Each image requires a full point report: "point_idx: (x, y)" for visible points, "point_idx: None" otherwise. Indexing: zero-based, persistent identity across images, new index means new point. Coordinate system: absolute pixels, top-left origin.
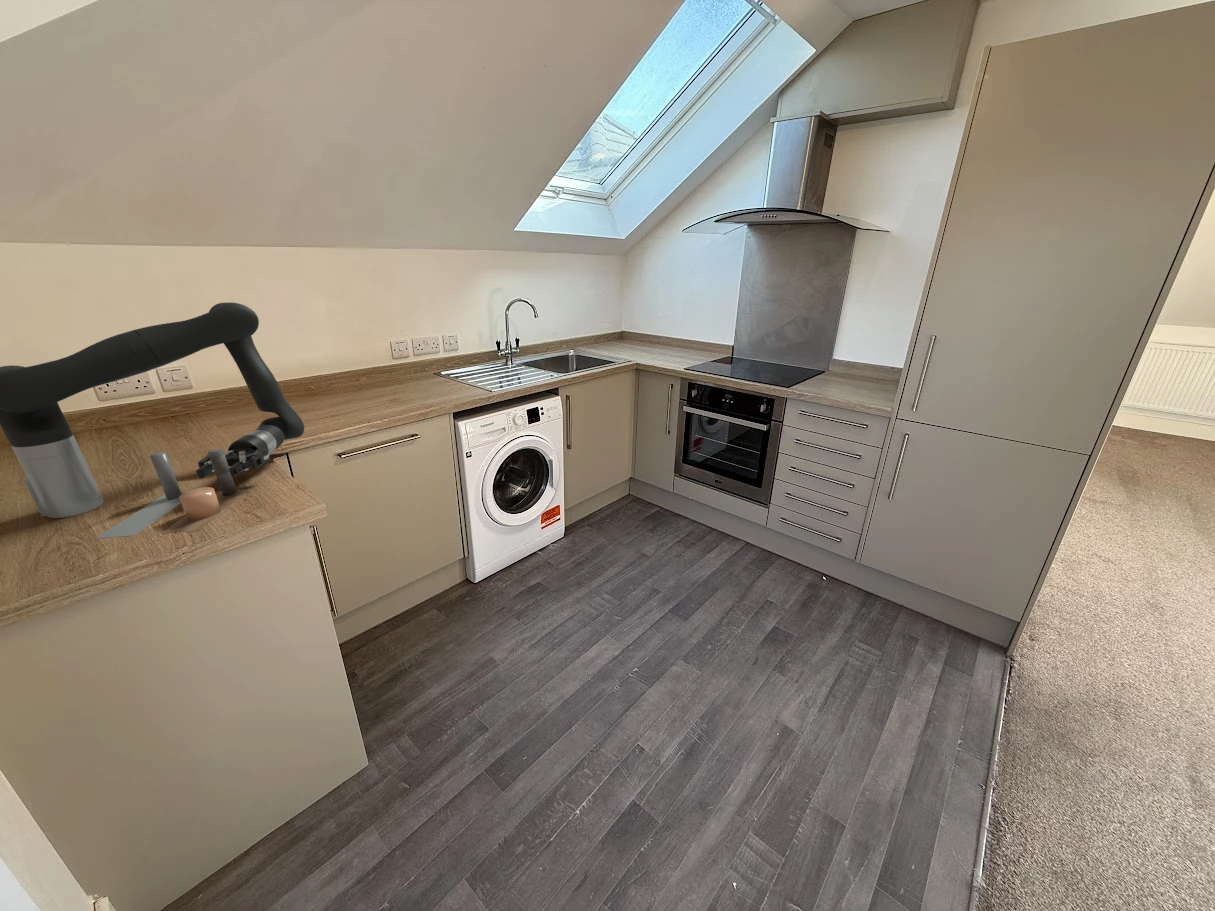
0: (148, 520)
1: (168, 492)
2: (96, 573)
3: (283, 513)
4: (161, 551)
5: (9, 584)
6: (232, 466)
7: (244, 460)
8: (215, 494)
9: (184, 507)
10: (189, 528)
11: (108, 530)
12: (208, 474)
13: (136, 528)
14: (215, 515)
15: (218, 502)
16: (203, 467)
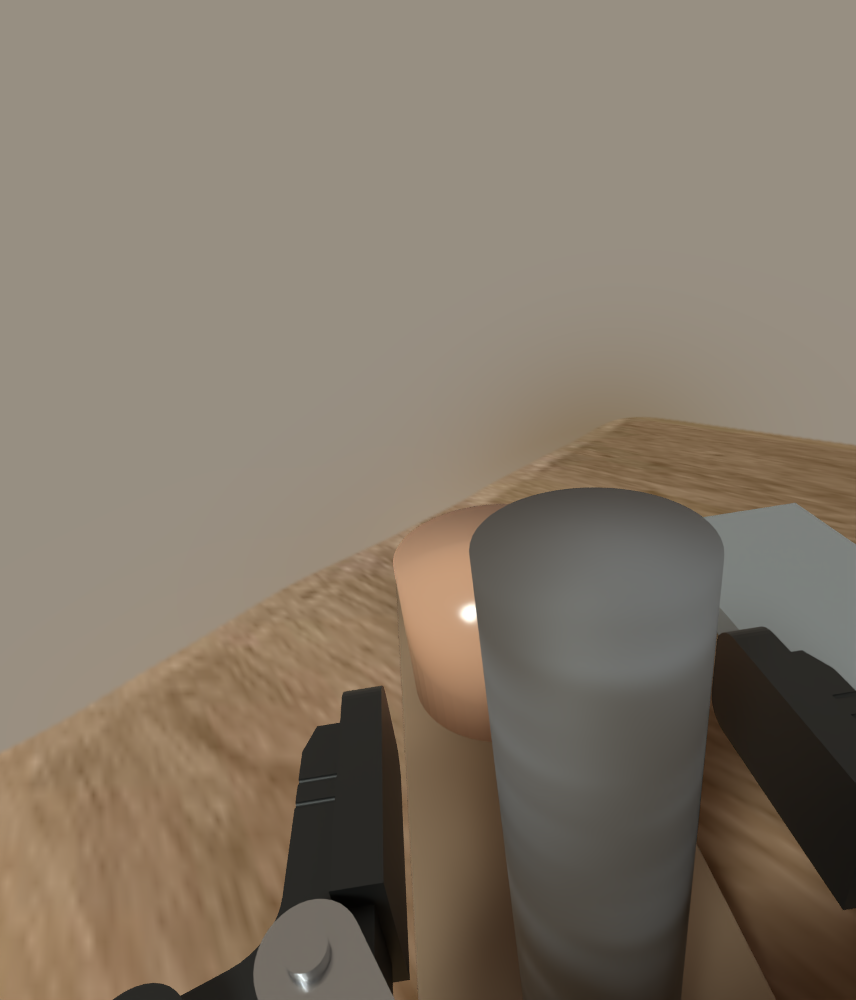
0: (761, 601)
1: None
2: (564, 466)
3: (59, 771)
4: None
5: (749, 430)
6: (364, 723)
7: (272, 957)
8: (408, 615)
9: None
10: None
11: (837, 535)
12: (781, 813)
13: None
14: (409, 656)
15: (420, 671)
16: (777, 685)
